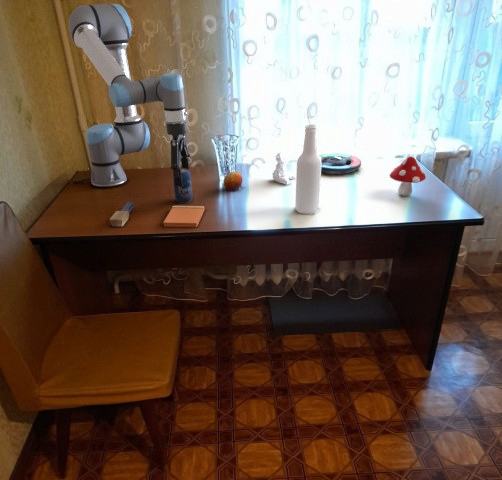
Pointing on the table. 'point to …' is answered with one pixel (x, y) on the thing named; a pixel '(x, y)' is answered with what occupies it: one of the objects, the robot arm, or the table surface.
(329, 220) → the table surface
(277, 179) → the white creature statuette
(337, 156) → the electronic game
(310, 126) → the alcohol
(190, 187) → the soda can
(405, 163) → the decorative mushroom
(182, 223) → the orange flat block
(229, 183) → the fruit
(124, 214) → the brush
